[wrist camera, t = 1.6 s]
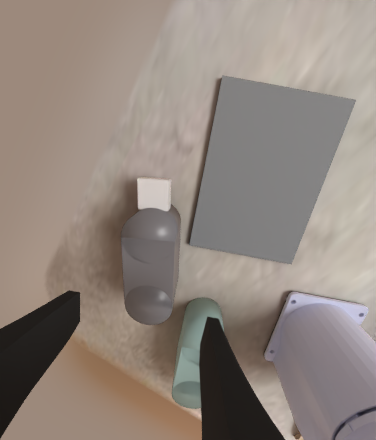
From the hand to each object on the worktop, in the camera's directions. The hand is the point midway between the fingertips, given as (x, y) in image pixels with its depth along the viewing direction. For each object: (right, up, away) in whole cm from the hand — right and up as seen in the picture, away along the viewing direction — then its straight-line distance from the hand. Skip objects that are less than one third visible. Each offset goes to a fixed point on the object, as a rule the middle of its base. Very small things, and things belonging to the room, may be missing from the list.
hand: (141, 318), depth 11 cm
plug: (0, +4, +8) cm, 9 cm away
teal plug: (+4, -9, +12) cm, 15 cm away
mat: (+9, +9, +6) cm, 14 cm away
